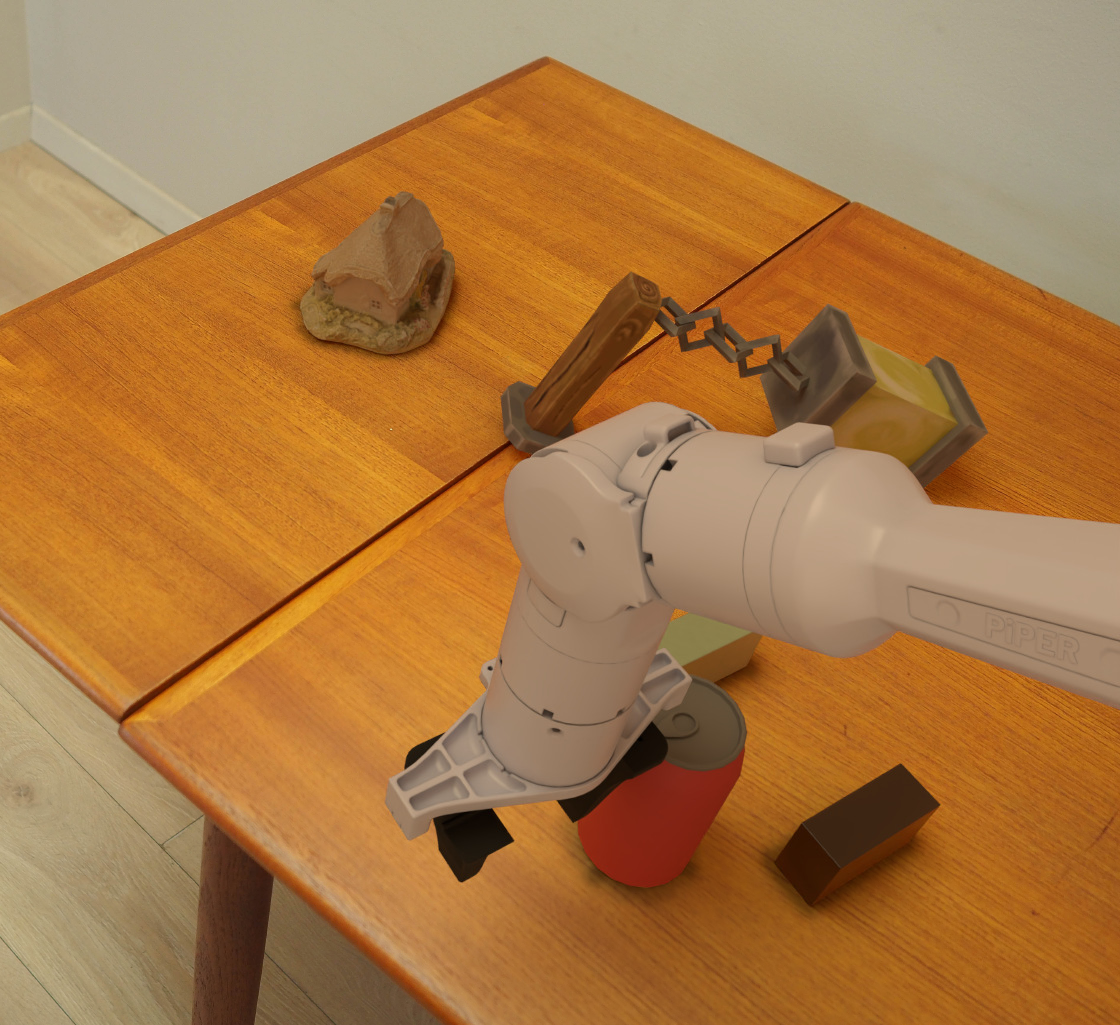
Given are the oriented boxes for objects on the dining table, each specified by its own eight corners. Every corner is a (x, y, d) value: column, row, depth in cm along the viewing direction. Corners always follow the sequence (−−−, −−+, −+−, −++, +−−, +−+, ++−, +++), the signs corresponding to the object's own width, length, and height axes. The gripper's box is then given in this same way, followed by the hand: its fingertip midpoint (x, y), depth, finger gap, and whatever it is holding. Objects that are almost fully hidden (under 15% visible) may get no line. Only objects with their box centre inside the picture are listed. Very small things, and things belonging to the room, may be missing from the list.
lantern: (803, 502, 99) (499, 381, 88) (953, 363, 88) (626, 206, 78) (826, 571, 94) (505, 451, 83) (988, 432, 83) (643, 274, 72)
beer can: (553, 806, 66) (600, 685, 57) (650, 770, 68) (708, 648, 60) (612, 910, 62) (672, 796, 54) (712, 867, 65) (785, 752, 56)
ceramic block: (746, 666, 75) (769, 623, 72) (652, 714, 71) (671, 671, 68) (716, 633, 76) (737, 589, 73) (622, 678, 73) (640, 634, 70)
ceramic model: (406, 375, 91) (420, 267, 83) (279, 326, 93) (282, 218, 86) (473, 284, 100) (492, 181, 93) (357, 243, 102) (366, 139, 95)
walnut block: (907, 843, 67) (941, 804, 64) (810, 906, 64) (840, 868, 61) (870, 802, 69) (901, 762, 66) (773, 861, 65) (801, 822, 62)
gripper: (648, 536, 51) (582, 710, 61) (359, 656, 45) (337, 829, 54) (756, 653, 47) (667, 819, 57) (456, 803, 41) (415, 960, 50)
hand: (512, 832), depth 55 cm, fingers open, 6 cm apart
